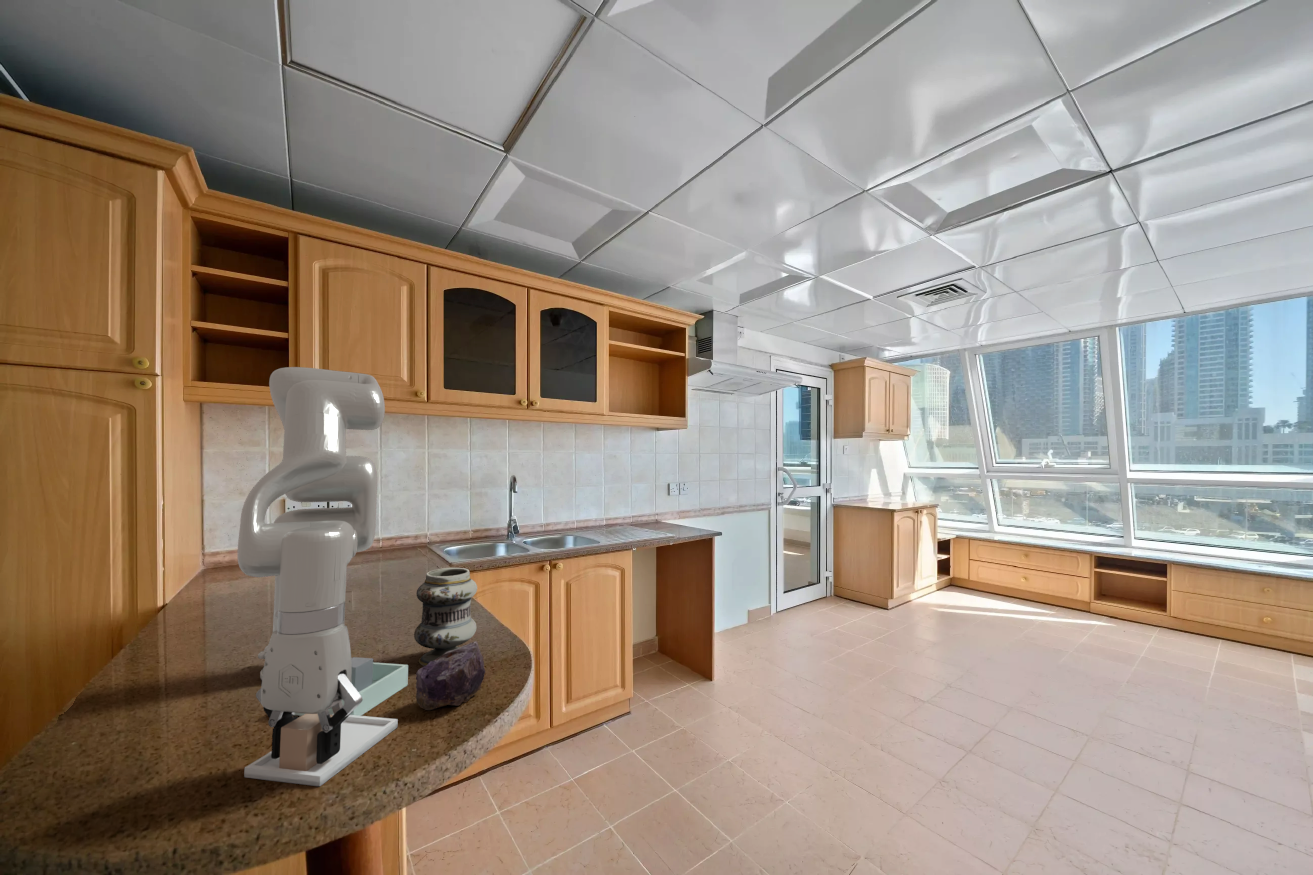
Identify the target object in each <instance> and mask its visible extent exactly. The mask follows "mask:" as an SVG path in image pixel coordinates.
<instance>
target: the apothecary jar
mask: <svg viewBox="0 0 1313 875" xmlns="http://www.w3.org/2000/svg"><path fill="white" fill-rule="evenodd" d="M477 592H478V585H477V582H476V581H475V580H473V579H472V578H471V574H470V570H469V569H468V568H464V567H443V568H438V569H433V570H430V571H428V572H426V575H425V580H424V582H423V583H422V584H420V586H418V588H417V590H416V597H417V599H418V601H420V602H421V603H422V611H421V612H422V613H421V614H422V615H421V621H420V623H419V624H418V625H417V626H416V628H415V630H414V634H413V637H414V640H415V642H416V643H417V644H418V645H419V646H421V647H422V648H423V647H424V648H427V649H432V650H430V651H428V652H426V653H424V654H423V655H421V657H420V658H419V660H418V663H419V664H420V665H421V666H422V667H424V666H426V665H427V664H428V663H429V662H430V661H434V660H435V659H437V658H439V657H440V656H442V655H443V654H445V653H446V652H448V651H452V650H455V649H458V648H460V647H461V646H462V645H463V644H465V643H466V642H468V641H470V640H471V639H472V637H473V636H474V635H475V634H476V631H477V623H476V621H475V620H474V619H473V618H472V614H471V613H472V612H471V610H472V609H471V608H472V607H471V605H472V598H473V597H474V596H475V595H476V593H477ZM460 645H461V646H460Z"/></svg>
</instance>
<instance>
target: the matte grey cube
mask: <svg viewBox="0 0 1313 875" xmlns="http://www.w3.org/2000/svg"><path fill="white" fill-rule="evenodd" d="M373 662H374V658H369V657H356V656H355V657H354V656H353V657H351V666H352V674H351V683H352V685H353V686H354V687H355V689H356V690H357V691H358V692H360V691H362V690H363V689H365V688H367V687H368V686H370V685H372V679H373Z"/></svg>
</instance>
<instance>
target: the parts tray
mask: <svg viewBox="0 0 1313 875" xmlns="http://www.w3.org/2000/svg"><path fill="white" fill-rule="evenodd" d="M332 715H334V714H332ZM398 721H399V720H398V718H389V717H377V716H368V715H367V716H366V715H361V716H358V715H349V716H348V717H347V718H346V720H345V721H344V722H343V723H341V738H340V750H339V752H338V753H337V754H335V755H334V756H333V757H331V758H330V759H328V760H327V761H326V762H324V763H323V764H316V765H315V766H313V767H312V768H311V769H309V770H308V771H299V770H290V769H282V768H279V762H280V757H279V758H277V759H272V758H271V754H272V750H271V751H269V752H267V753H266V754H265V755H263V756H261V757H260V758H258V759H256V760H255V761H253V762H251V763H250V764H248V765H247V766H245V767H244V772H243V773H244V774H243V775H244V776H243V778H248V779H255V780H256V779H257V780H265V781H271V782H280V783H288V784H295V785H296V784H297V785H298V784H299V785H305V786H306V785H307V786H314V787H321V786H322V785H324V784H325V783H326V782H328V781H329V780H330V779H331V778H333V777H335V775H337V774H338V773H340V772H341V771H342V770H343V769H345V768H346V767H347V766H349V765H350V764H351V763H352V762H354V761H355V760H356V759H358V758H359V757H360V756H362V755H363V754H364V753H366V752H367V751H368V750H369V749H371V748H372V747H374V746H375V745H376V744H378V743H379V742H380V741H381V740H383V739H384V738H386V737H387V736H388V735H389V734H390V733H392V732H393V731H395V730H397V729H398Z"/></svg>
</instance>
